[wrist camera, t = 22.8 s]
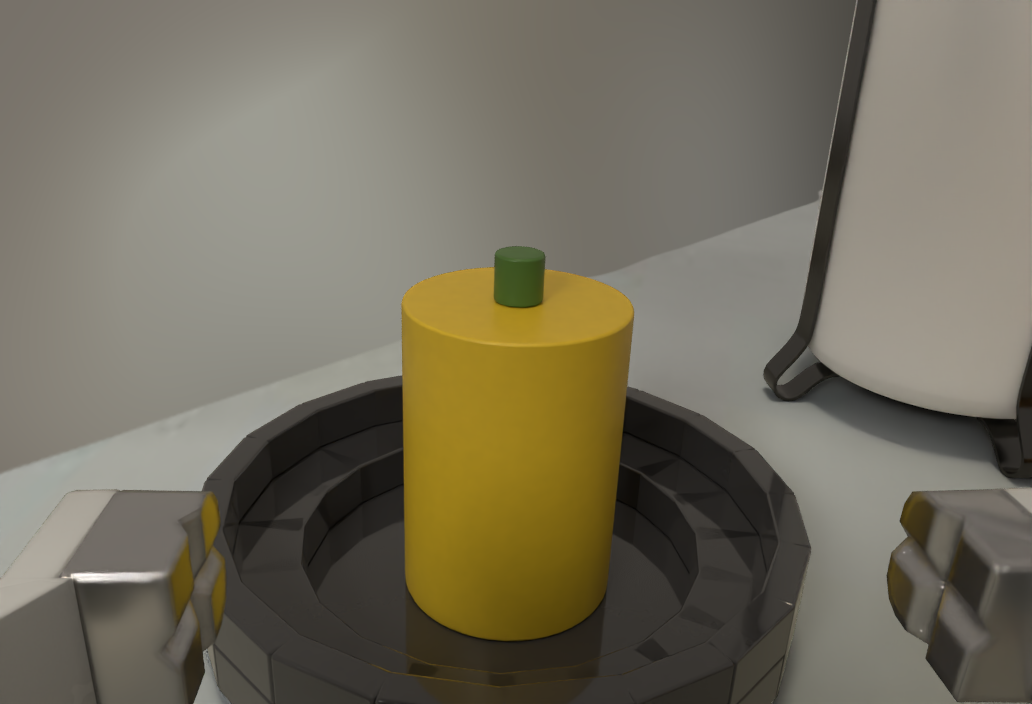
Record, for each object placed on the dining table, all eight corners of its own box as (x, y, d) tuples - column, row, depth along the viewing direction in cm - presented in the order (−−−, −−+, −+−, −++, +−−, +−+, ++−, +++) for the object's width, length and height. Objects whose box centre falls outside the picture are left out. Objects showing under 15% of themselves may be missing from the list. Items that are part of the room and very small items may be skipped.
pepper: (379, 627, 21) (369, 278, 18) (431, 506, 27) (432, 216, 23) (602, 656, 21) (638, 300, 17) (611, 526, 26) (640, 231, 22)
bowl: (72, 785, 18) (43, 653, 16) (327, 436, 32) (322, 350, 31) (842, 905, 16) (880, 770, 15) (749, 479, 30) (764, 391, 29)
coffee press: (1256, 497, 31) (1762, -653, 19) (811, 475, 31) (1043, -680, 19) (1010, 325, 47) (1203, -357, 35) (717, 311, 47) (813, -372, 35)
